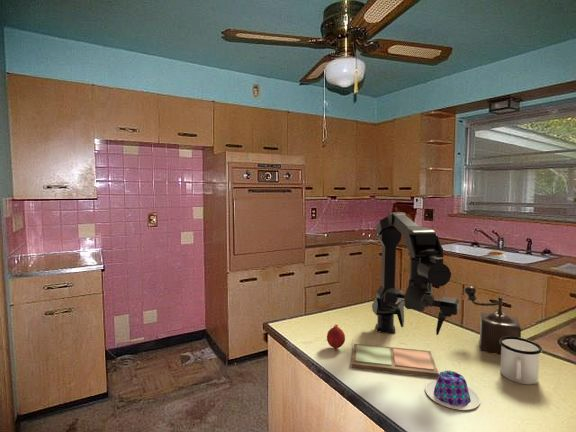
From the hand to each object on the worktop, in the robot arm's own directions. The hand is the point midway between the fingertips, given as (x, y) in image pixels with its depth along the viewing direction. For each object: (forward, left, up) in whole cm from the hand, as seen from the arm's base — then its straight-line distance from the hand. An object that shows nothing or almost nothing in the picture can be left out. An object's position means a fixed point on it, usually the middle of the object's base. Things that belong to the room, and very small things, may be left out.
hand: (419, 330), depth 91 cm
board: (-4, -7, -12) cm, 14 cm away
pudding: (+10, +6, -12) cm, 17 cm away
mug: (-2, +25, -12) cm, 28 cm away
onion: (-8, -24, -12) cm, 28 cm away
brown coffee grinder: (-21, +24, -12) cm, 34 cm away
